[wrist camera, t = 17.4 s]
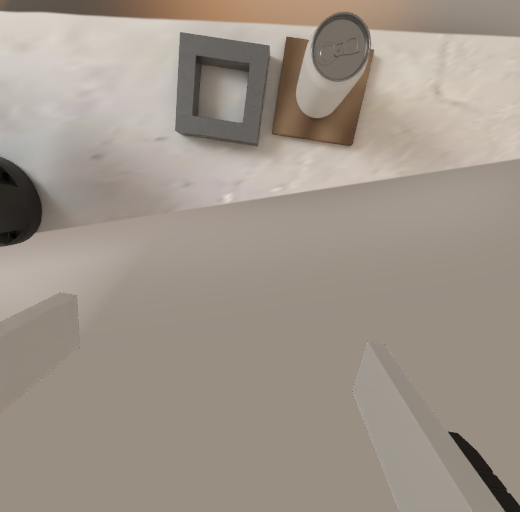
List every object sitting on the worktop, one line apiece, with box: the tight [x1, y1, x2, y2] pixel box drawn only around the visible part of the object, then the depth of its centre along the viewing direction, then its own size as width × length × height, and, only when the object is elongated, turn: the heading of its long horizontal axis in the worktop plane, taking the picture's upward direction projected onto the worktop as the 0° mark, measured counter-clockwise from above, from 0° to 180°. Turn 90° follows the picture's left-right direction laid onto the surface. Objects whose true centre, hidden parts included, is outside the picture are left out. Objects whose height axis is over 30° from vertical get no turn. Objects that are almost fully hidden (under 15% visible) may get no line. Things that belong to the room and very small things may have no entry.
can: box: [296, 12, 371, 118], centre depth 29 cm, size 6×6×12 cm
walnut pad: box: [272, 37, 374, 146], centre depth 36 cm, size 12×12×1 cm
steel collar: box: [175, 32, 270, 146], centre depth 35 cm, size 12×12×2 cm
